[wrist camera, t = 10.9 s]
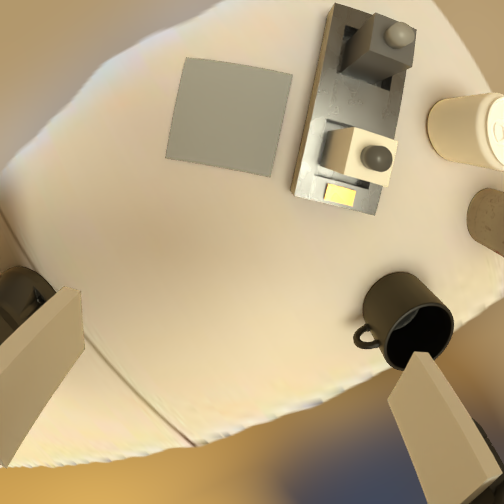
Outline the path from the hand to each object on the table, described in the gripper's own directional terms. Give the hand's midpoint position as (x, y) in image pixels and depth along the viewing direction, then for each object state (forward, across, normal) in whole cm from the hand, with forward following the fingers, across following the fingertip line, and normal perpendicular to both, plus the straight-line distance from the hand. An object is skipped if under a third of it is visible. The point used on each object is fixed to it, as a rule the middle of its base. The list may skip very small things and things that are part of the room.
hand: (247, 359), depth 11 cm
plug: (+26, +8, +8) cm, 28 cm away
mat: (+27, -5, +10) cm, 29 cm away
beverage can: (+27, +22, +16) cm, 38 cm away
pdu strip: (+27, +8, +14) cm, 31 cm away
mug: (+27, +20, -9) cm, 35 cm away
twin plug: (+26, +8, +20) cm, 33 cm away
